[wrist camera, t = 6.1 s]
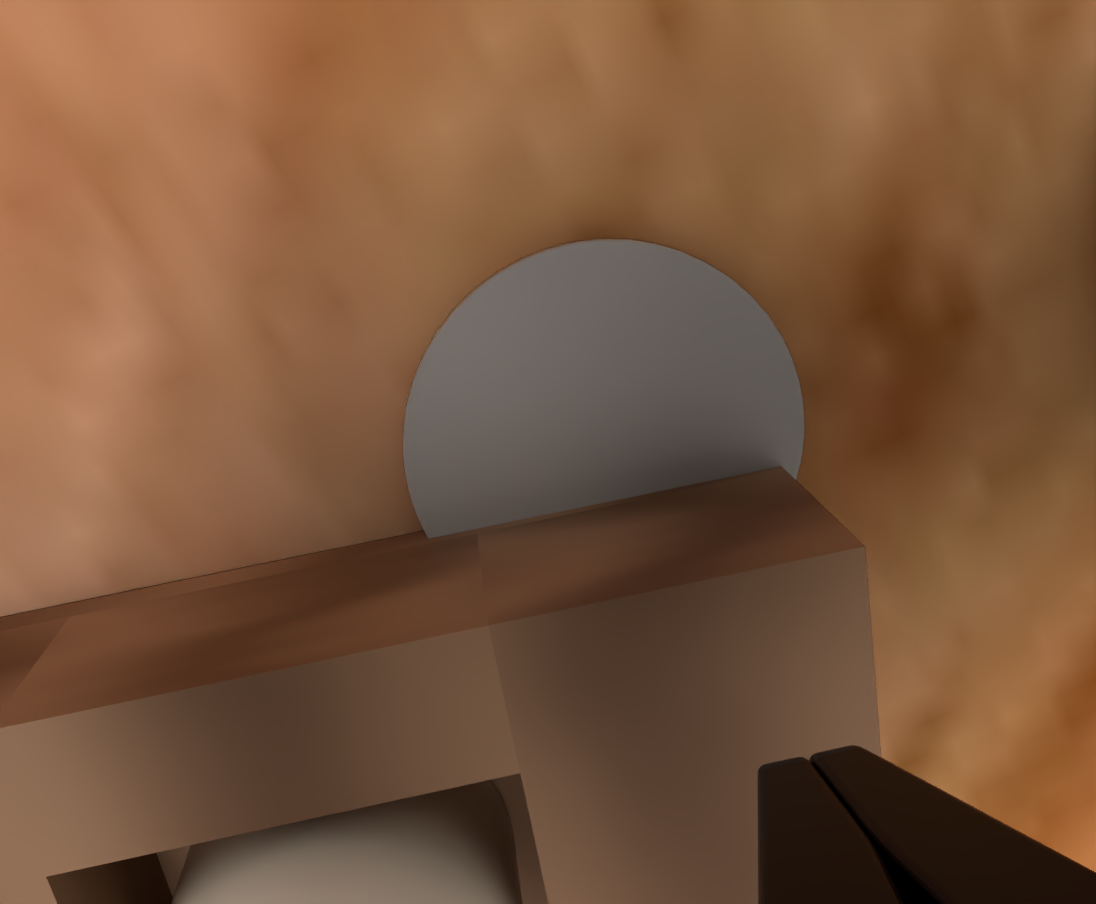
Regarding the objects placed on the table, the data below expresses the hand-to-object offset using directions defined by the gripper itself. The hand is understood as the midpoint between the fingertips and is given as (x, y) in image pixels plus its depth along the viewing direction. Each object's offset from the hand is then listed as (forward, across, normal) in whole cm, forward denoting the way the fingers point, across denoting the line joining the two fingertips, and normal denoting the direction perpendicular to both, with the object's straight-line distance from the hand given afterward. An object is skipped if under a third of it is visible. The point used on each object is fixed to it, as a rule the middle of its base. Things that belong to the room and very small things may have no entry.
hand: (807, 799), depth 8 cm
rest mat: (+10, 0, 0) cm, 10 cm away
